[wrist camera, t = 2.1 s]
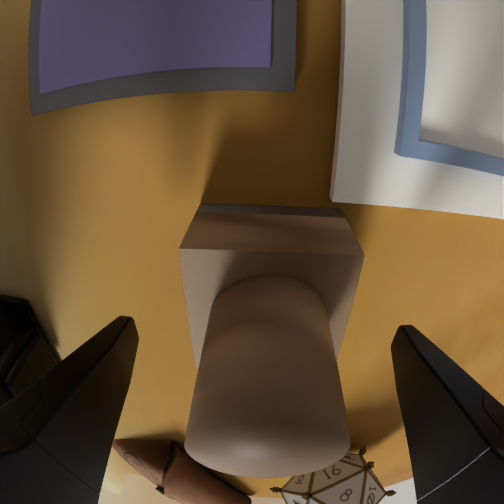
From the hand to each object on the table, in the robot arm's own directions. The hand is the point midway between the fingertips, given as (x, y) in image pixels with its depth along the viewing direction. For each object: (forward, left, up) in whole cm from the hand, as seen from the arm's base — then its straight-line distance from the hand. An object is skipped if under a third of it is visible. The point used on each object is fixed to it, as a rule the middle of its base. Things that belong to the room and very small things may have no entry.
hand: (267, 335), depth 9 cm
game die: (+6, -18, -4) cm, 19 cm away
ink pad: (-4, +11, -4) cm, 12 cm away
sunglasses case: (-7, -26, -4) cm, 27 cm away
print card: (+8, +9, -4) cm, 13 cm away
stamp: (0, 0, -4) cm, 4 cm away
